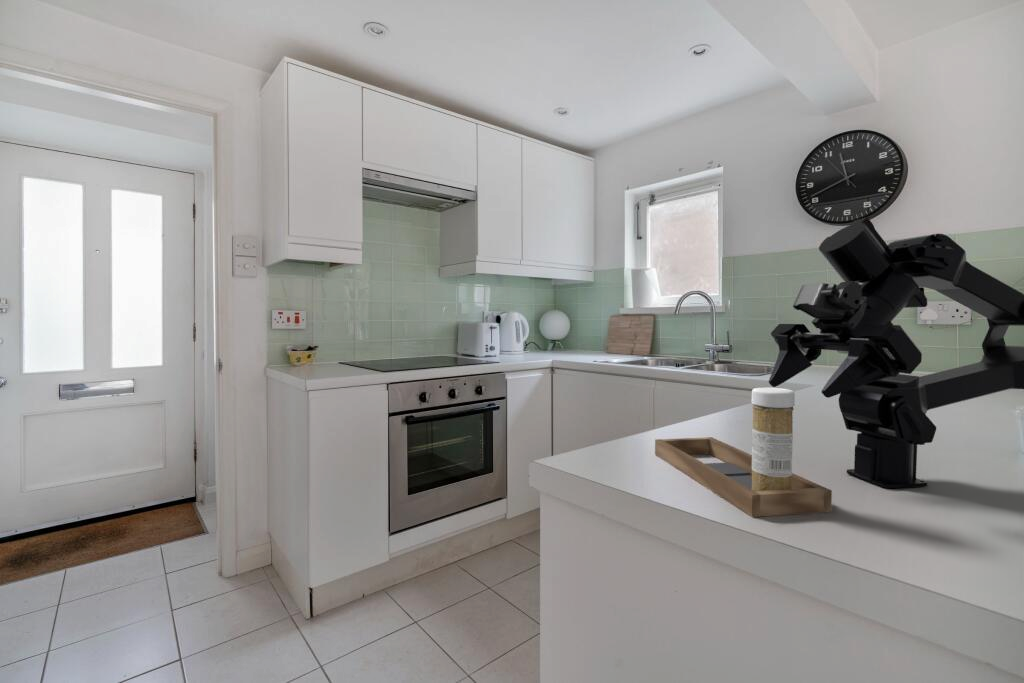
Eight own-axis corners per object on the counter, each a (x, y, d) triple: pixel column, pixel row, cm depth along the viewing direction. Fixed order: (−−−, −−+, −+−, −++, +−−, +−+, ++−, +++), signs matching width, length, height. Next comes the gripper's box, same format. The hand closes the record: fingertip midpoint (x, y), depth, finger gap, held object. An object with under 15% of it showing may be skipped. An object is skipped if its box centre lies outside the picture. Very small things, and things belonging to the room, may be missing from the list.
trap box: (711, 451, 79) (711, 437, 79) (831, 511, 55) (831, 490, 55) (655, 454, 78) (655, 439, 78) (751, 516, 53) (752, 495, 53)
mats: (729, 464, 72) (729, 462, 72) (779, 490, 61) (779, 487, 61) (682, 467, 71) (682, 464, 71) (725, 493, 60) (725, 490, 60)
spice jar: (788, 494, 59) (790, 387, 59) (796, 507, 55) (798, 392, 54) (747, 489, 61) (749, 385, 60) (752, 502, 56) (754, 390, 56)
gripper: (784, 270, 72) (715, 342, 70) (906, 253, 53) (816, 350, 52) (827, 323, 73) (761, 394, 72) (960, 324, 55) (874, 420, 54)
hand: (795, 389), depth 62 cm, fingers open, 9 cm apart
